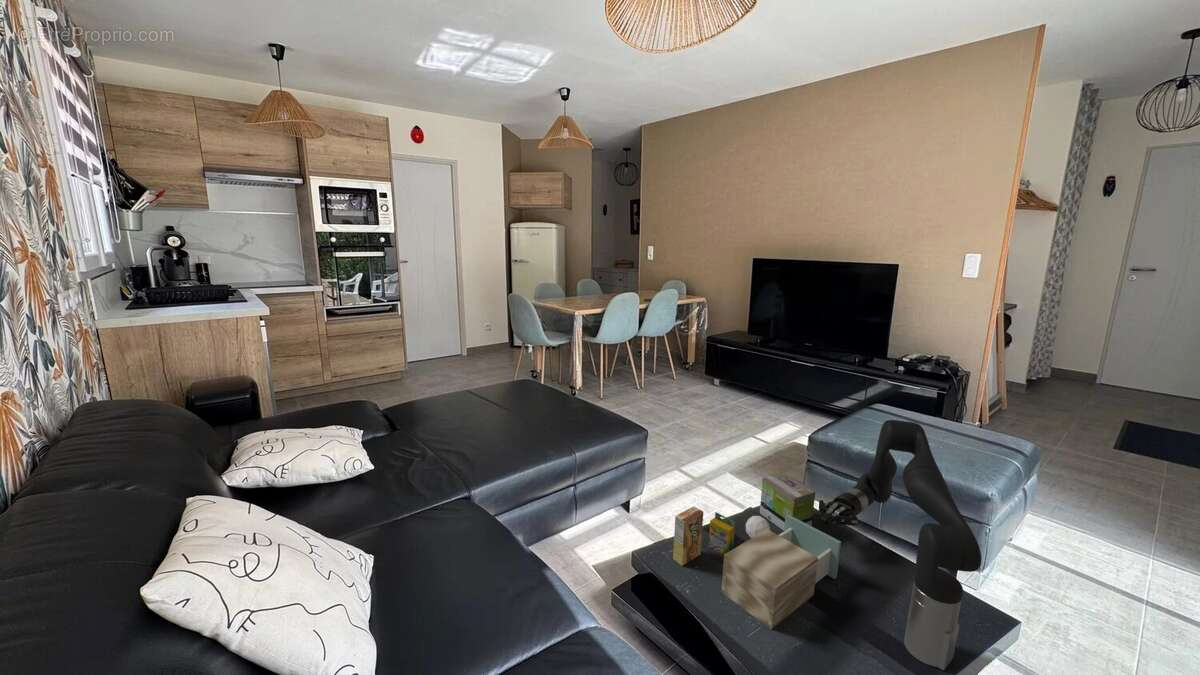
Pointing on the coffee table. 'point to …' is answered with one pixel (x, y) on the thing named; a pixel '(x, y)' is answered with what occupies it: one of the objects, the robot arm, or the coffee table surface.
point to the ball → (756, 526)
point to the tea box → (786, 500)
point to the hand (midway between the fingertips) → (823, 522)
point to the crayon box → (721, 534)
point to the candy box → (688, 535)
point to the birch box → (769, 577)
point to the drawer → (814, 545)
